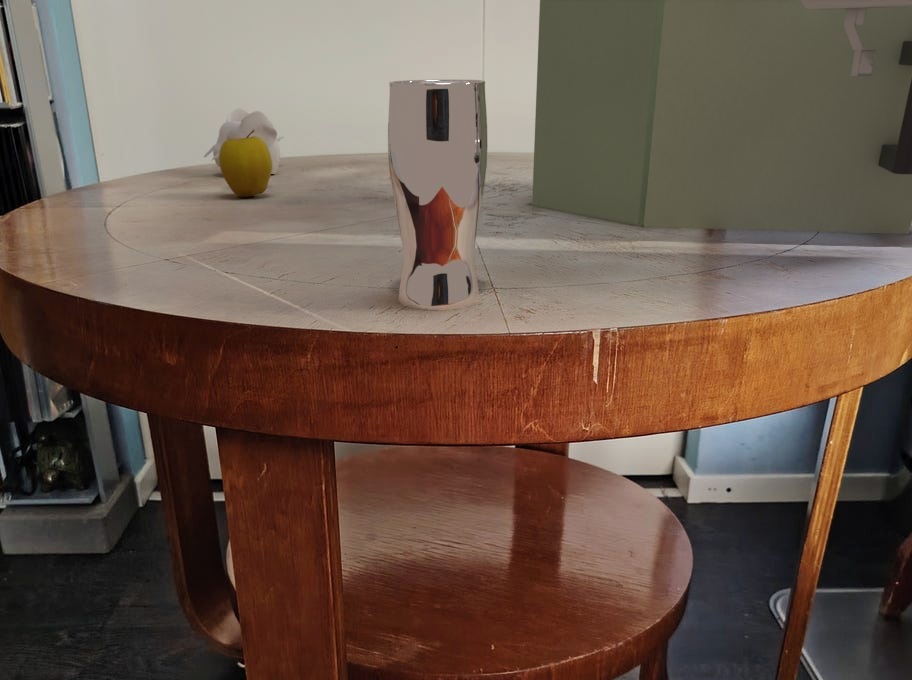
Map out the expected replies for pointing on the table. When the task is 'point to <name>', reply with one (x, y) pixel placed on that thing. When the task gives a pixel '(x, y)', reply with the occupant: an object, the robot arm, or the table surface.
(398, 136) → the beer glass
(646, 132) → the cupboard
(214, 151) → the elephant figurine
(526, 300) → the table surface
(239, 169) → the apple
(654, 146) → the door
